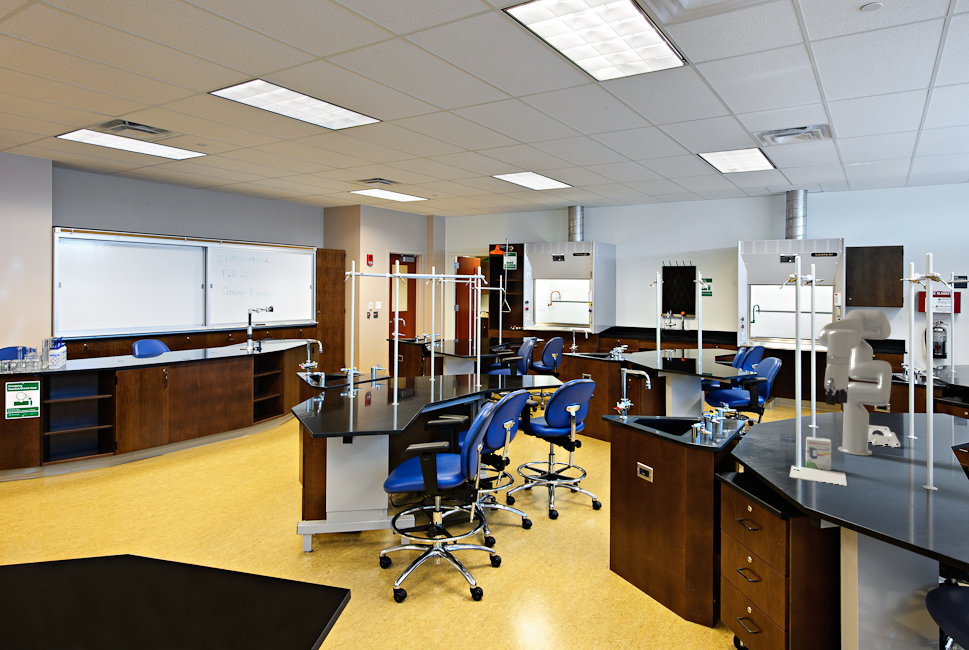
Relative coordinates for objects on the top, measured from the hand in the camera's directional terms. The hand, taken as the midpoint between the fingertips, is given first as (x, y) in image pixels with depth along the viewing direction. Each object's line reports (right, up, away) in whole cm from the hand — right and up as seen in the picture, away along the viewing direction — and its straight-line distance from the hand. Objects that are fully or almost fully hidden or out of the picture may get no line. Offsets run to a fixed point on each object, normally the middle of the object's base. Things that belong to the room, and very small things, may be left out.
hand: (836, 403), depth 215 cm
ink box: (-7, -26, 0) cm, 27 cm away
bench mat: (-14, -26, -10) cm, 31 cm away
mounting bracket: (+50, -26, +42) cm, 70 cm away
